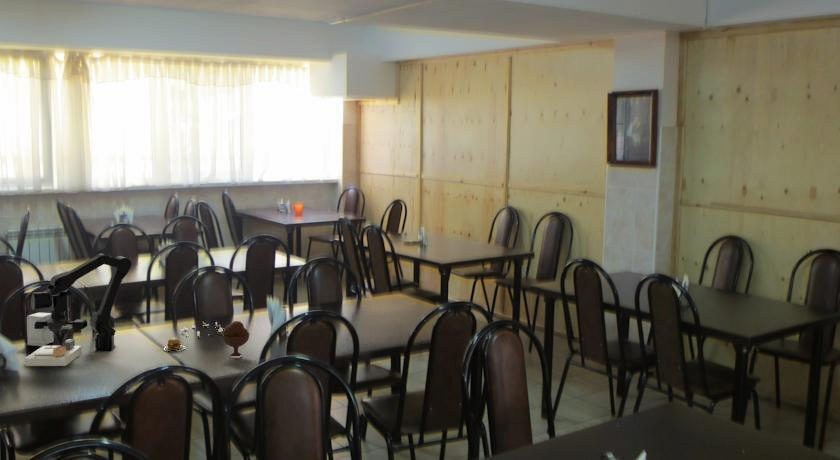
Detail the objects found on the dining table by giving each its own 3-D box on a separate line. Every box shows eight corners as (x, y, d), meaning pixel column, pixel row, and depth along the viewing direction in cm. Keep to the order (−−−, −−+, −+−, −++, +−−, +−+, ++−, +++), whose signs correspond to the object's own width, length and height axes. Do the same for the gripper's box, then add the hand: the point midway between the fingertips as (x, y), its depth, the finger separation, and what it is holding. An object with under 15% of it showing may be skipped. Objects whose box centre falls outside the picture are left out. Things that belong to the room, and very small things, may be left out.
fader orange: (66, 352, 308) (65, 345, 308) (61, 356, 303) (61, 349, 303) (58, 352, 308) (57, 345, 308) (53, 356, 303) (53, 349, 303)
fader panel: (81, 352, 320) (81, 345, 320) (65, 365, 302) (65, 358, 302) (43, 352, 319) (43, 345, 318) (25, 365, 301) (24, 357, 301)
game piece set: (233, 331, 361) (233, 323, 360) (200, 341, 344) (200, 332, 343) (203, 325, 370) (203, 317, 370) (170, 334, 353) (169, 326, 353)
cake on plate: (195, 348, 333) (195, 336, 332) (177, 356, 321) (177, 342, 321) (171, 345, 336) (171, 333, 336) (153, 352, 325) (153, 339, 324)
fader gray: (74, 345, 318) (74, 338, 318) (70, 349, 313) (70, 342, 313) (67, 345, 318) (66, 338, 317) (62, 349, 313) (62, 342, 312)
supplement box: (42, 346, 328) (41, 316, 326) (27, 345, 329) (26, 315, 328) (54, 342, 335) (53, 313, 334) (39, 340, 336) (37, 311, 335)
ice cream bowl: (254, 354, 324) (254, 319, 322) (239, 361, 313) (239, 325, 311) (232, 351, 327) (232, 316, 325) (216, 358, 317) (216, 322, 315)
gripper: (27, 311, 304) (29, 350, 306) (77, 311, 306) (78, 350, 308) (39, 305, 315) (40, 343, 317) (87, 305, 317) (88, 343, 319)
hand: (61, 345), depth 315 cm, fingers closed
